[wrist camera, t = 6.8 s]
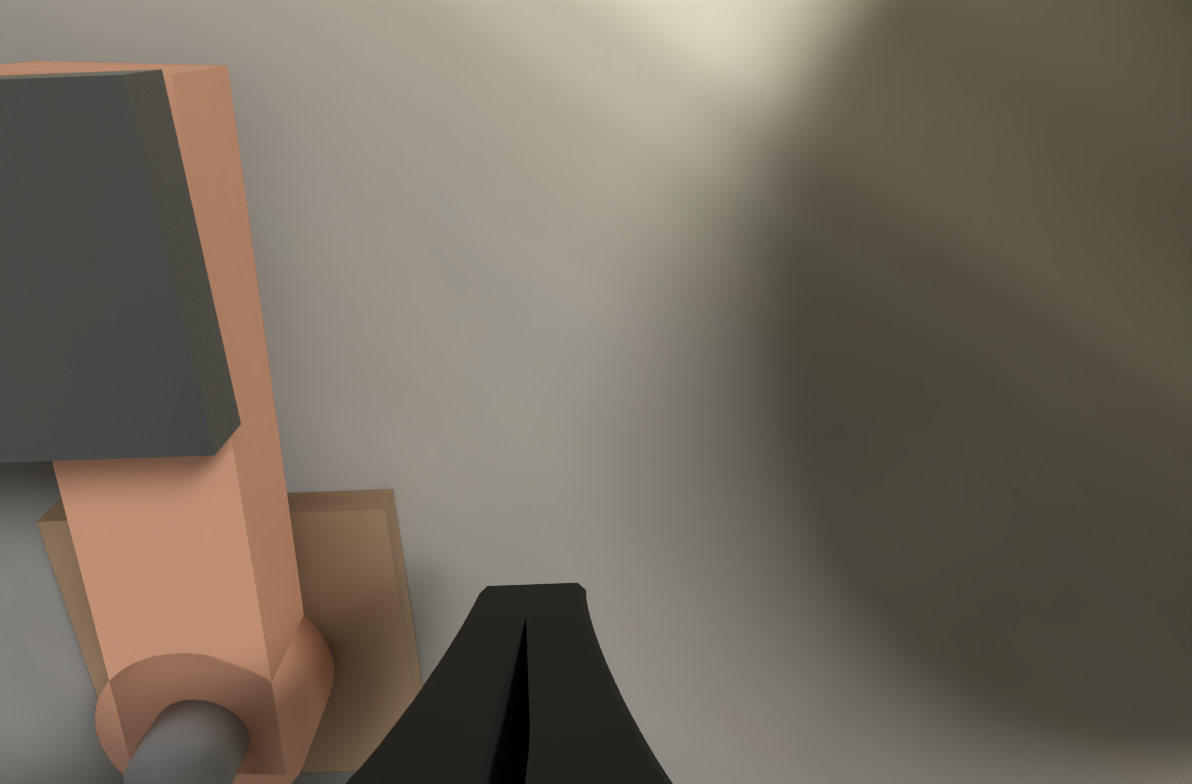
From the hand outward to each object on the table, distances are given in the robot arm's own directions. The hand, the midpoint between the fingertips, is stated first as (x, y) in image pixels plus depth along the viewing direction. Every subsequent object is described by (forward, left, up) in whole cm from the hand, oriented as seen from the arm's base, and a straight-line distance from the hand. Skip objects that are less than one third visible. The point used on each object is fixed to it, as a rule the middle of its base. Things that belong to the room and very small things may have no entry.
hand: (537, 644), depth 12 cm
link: (-7, 0, -5) cm, 8 cm away
